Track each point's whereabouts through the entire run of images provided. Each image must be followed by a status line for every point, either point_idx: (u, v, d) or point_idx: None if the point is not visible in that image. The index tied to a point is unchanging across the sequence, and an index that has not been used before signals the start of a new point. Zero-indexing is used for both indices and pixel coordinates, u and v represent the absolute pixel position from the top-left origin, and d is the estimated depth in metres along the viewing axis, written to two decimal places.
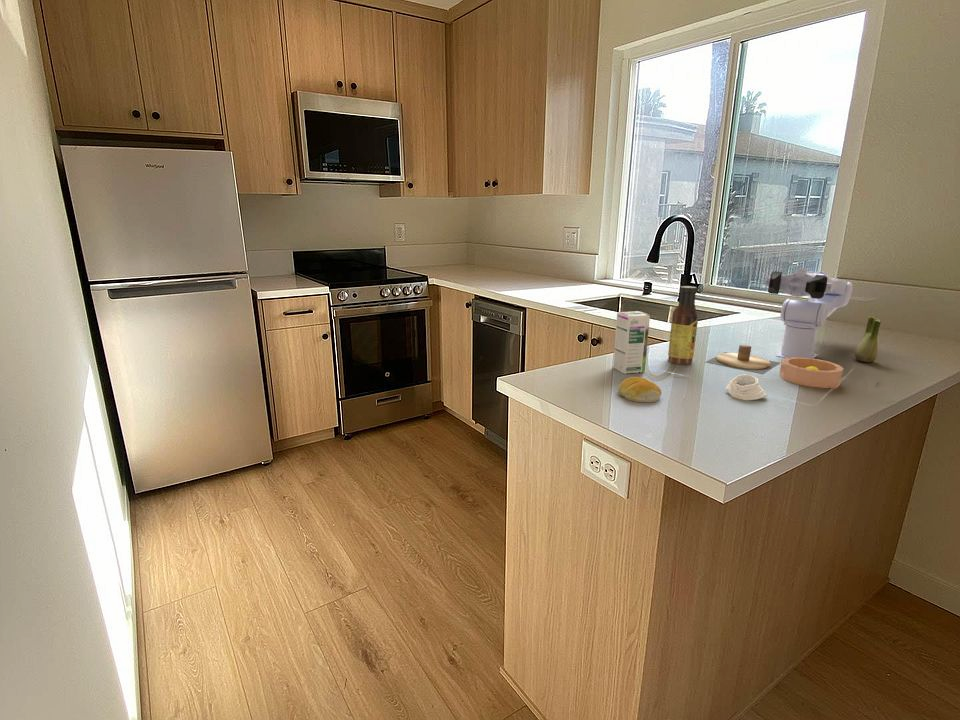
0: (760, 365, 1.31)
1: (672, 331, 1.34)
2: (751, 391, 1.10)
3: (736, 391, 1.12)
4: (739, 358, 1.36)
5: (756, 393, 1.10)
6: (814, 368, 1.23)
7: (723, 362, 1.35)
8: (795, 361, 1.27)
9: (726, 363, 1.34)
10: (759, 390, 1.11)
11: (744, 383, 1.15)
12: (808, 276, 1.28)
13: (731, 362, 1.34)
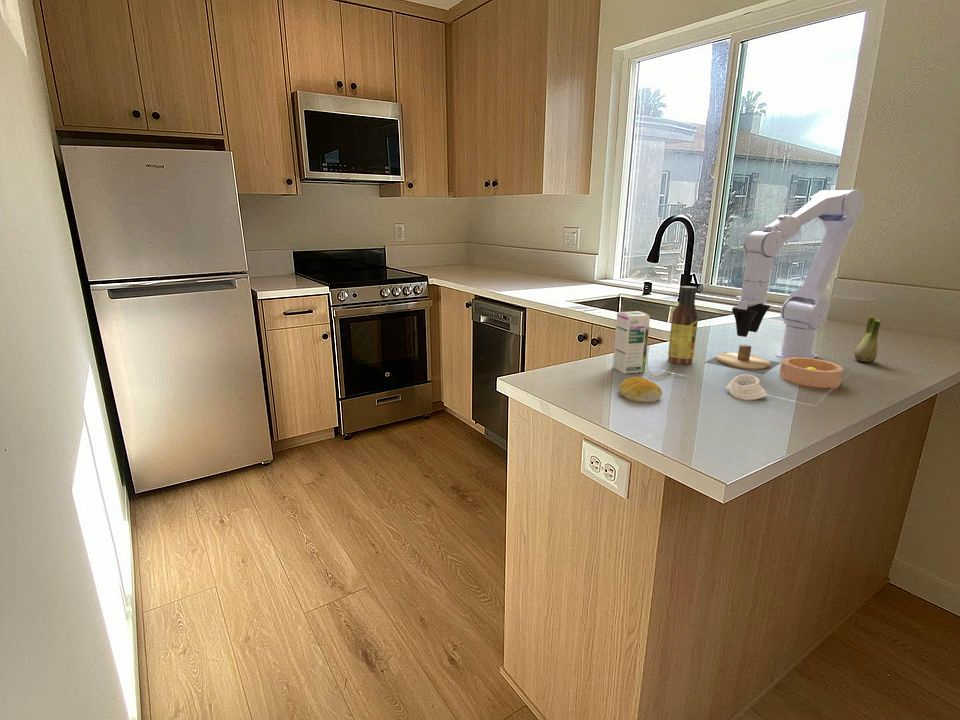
0: (760, 365, 1.31)
1: (672, 331, 1.34)
2: (752, 391, 1.11)
3: (737, 391, 1.12)
4: (739, 358, 1.36)
5: (757, 393, 1.11)
6: (813, 369, 1.22)
7: (723, 362, 1.35)
8: (795, 361, 1.27)
9: (726, 363, 1.34)
10: (760, 390, 1.11)
11: (745, 383, 1.15)
12: (740, 301, 1.32)
13: (731, 362, 1.34)
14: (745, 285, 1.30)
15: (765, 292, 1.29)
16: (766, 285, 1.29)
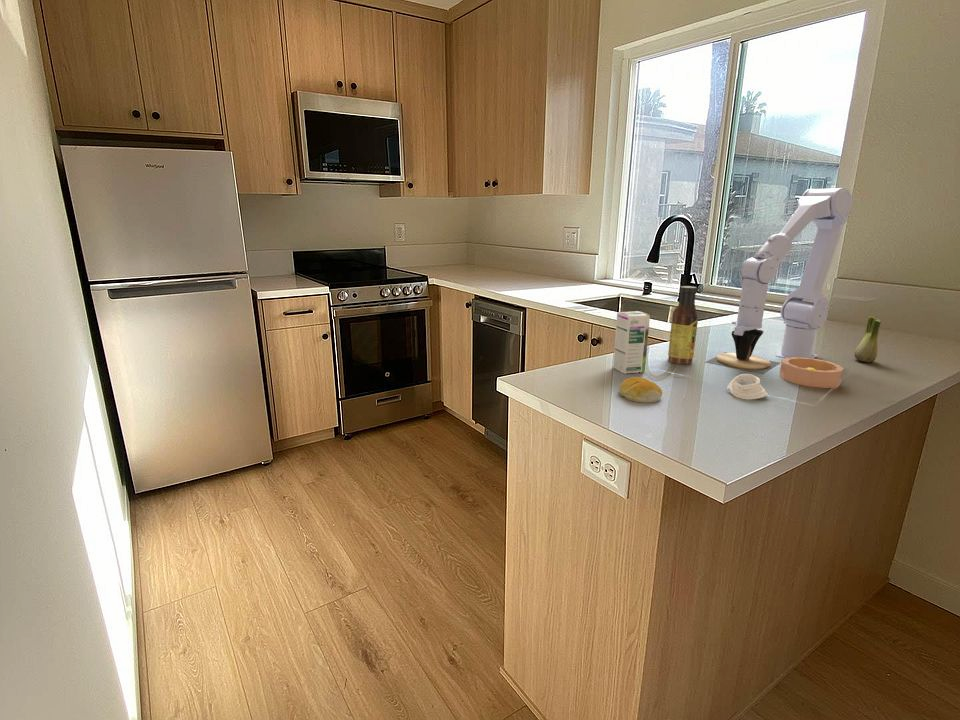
0: (760, 365, 1.31)
1: (672, 331, 1.34)
2: (752, 390, 1.11)
3: (737, 390, 1.12)
4: None
5: (757, 392, 1.11)
6: (812, 369, 1.22)
7: (723, 362, 1.35)
8: (795, 361, 1.27)
9: (726, 363, 1.34)
10: (760, 389, 1.11)
11: (745, 382, 1.15)
12: None
13: (731, 362, 1.34)
14: (741, 311, 1.32)
15: (761, 318, 1.31)
16: (762, 311, 1.30)
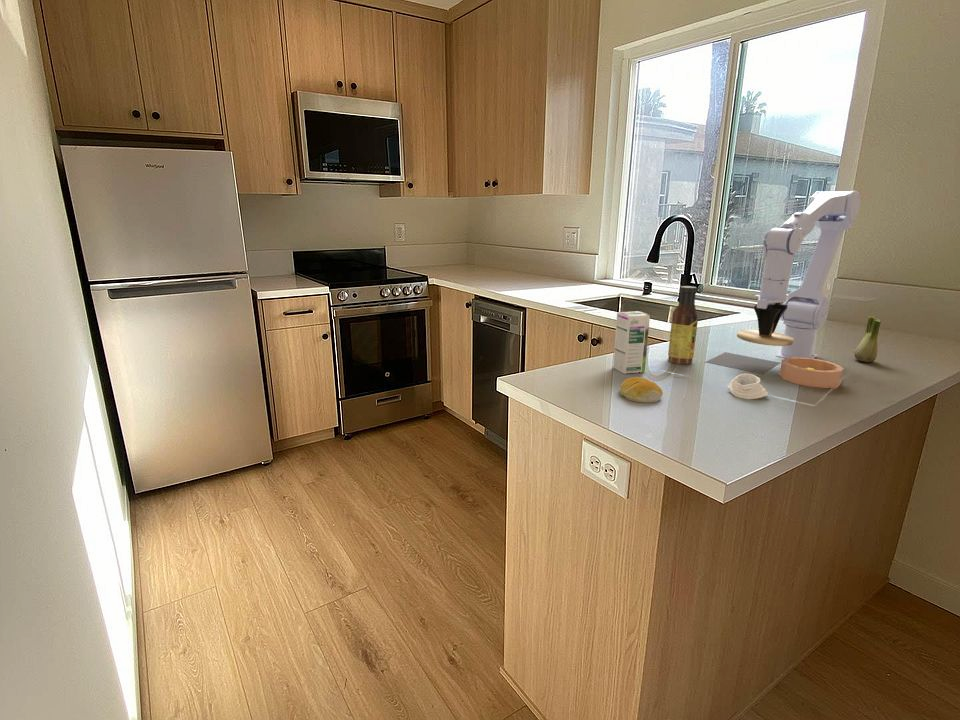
0: (783, 341, 1.26)
1: (672, 331, 1.34)
2: (753, 390, 1.11)
3: (738, 390, 1.12)
4: None
5: (758, 392, 1.11)
6: None
7: (744, 338, 1.29)
8: (795, 361, 1.27)
9: (747, 339, 1.28)
10: (761, 389, 1.11)
11: (746, 382, 1.15)
12: (759, 300, 1.28)
13: (753, 338, 1.28)
14: (764, 283, 1.26)
15: (785, 291, 1.25)
16: (786, 283, 1.25)
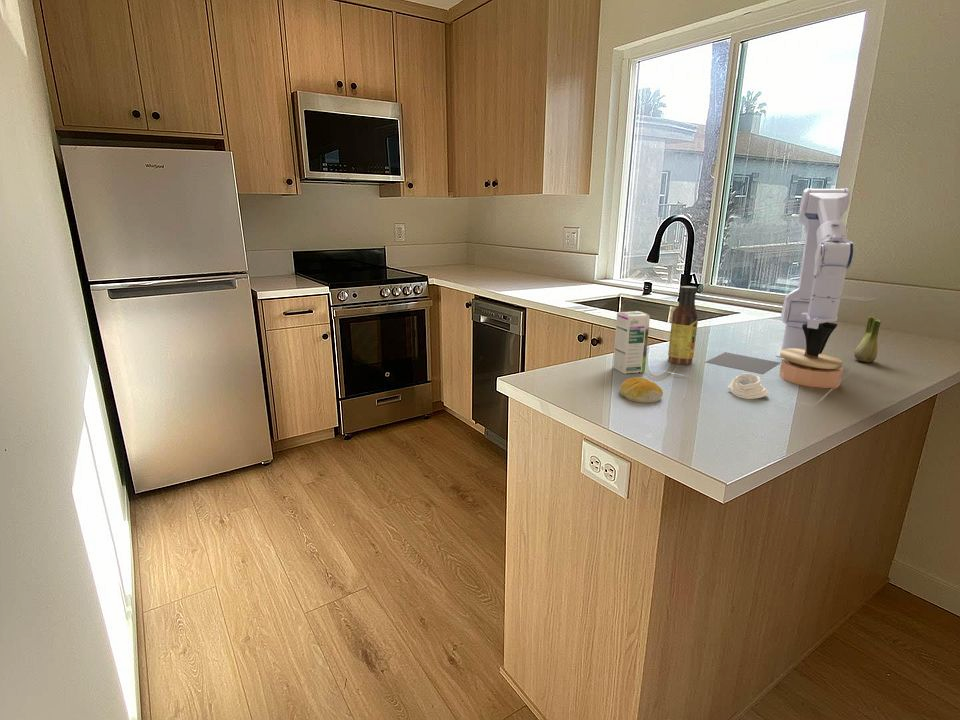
0: (832, 364, 1.18)
1: (672, 331, 1.34)
2: (753, 390, 1.11)
3: (738, 390, 1.12)
4: (807, 355, 1.22)
5: (758, 392, 1.11)
6: None
7: (790, 359, 1.21)
8: None
9: (793, 360, 1.20)
10: (761, 389, 1.12)
11: (746, 382, 1.15)
12: None
13: (799, 359, 1.20)
14: (814, 301, 1.18)
15: (837, 309, 1.17)
16: (838, 301, 1.16)
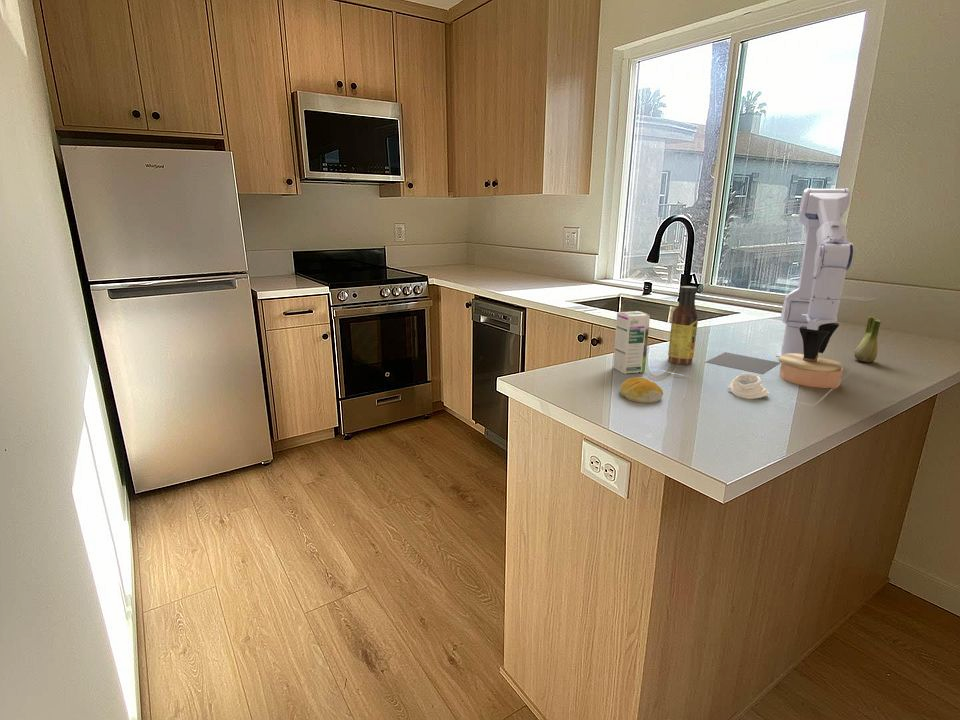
0: (832, 367, 1.18)
1: (672, 331, 1.34)
2: (753, 390, 1.11)
3: (738, 390, 1.13)
4: (806, 359, 1.22)
5: (758, 392, 1.11)
6: None
7: (789, 363, 1.21)
8: None
9: (792, 365, 1.20)
10: (761, 389, 1.12)
11: (746, 382, 1.16)
12: None
13: (798, 363, 1.20)
14: (814, 302, 1.18)
15: (837, 310, 1.17)
16: (838, 302, 1.16)
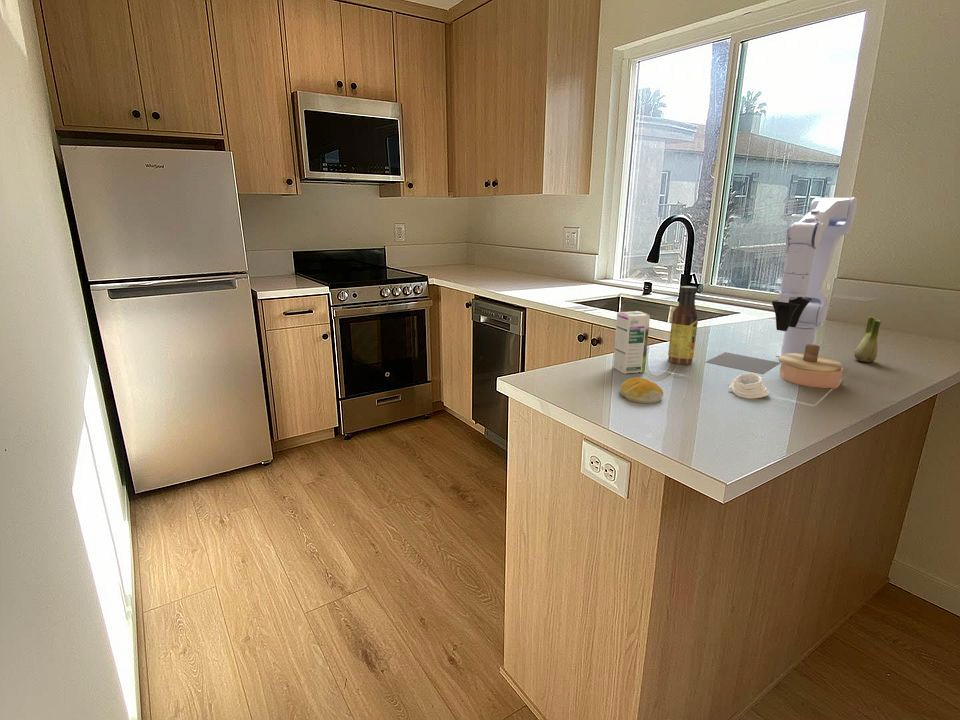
0: (832, 367, 1.18)
1: (672, 331, 1.34)
2: (754, 389, 1.11)
3: (739, 389, 1.13)
4: (806, 359, 1.22)
5: (759, 391, 1.11)
6: None
7: (789, 363, 1.21)
8: None
9: (792, 365, 1.20)
10: (762, 388, 1.12)
11: (747, 381, 1.16)
12: None
13: (798, 363, 1.20)
14: (786, 278, 1.26)
15: (806, 285, 1.25)
16: (808, 278, 1.24)
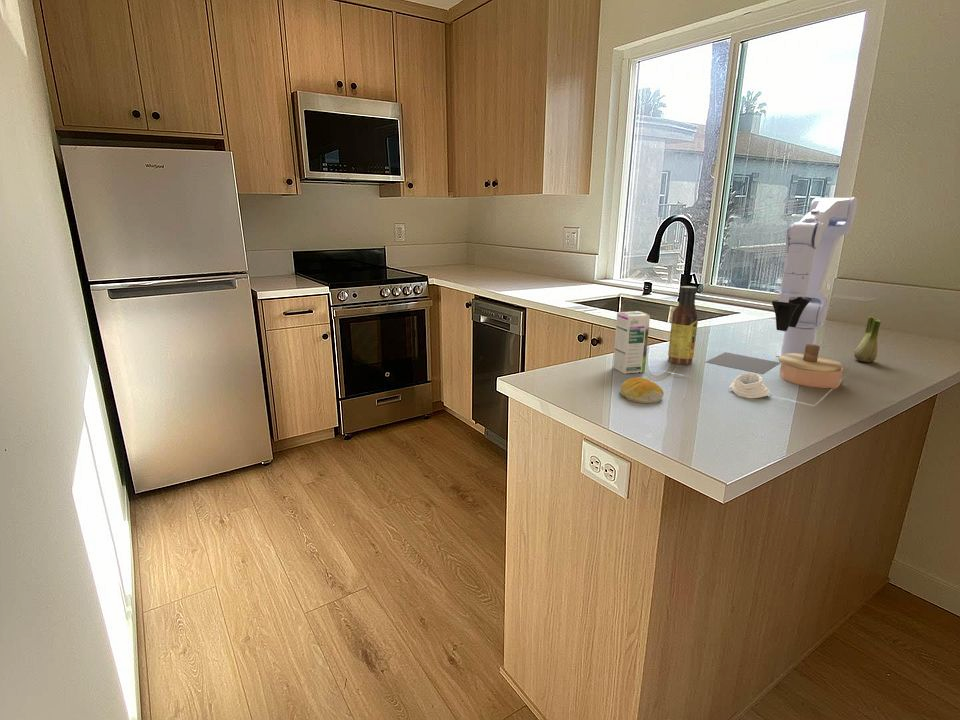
0: (832, 367, 1.18)
1: (672, 331, 1.34)
2: (755, 389, 1.11)
3: (740, 389, 1.13)
4: (806, 359, 1.22)
5: (760, 391, 1.12)
6: None
7: (789, 363, 1.21)
8: None
9: (792, 365, 1.20)
10: (763, 388, 1.12)
11: (748, 381, 1.16)
12: None
13: (798, 363, 1.20)
14: (785, 278, 1.26)
15: (806, 285, 1.25)
16: (808, 278, 1.24)
